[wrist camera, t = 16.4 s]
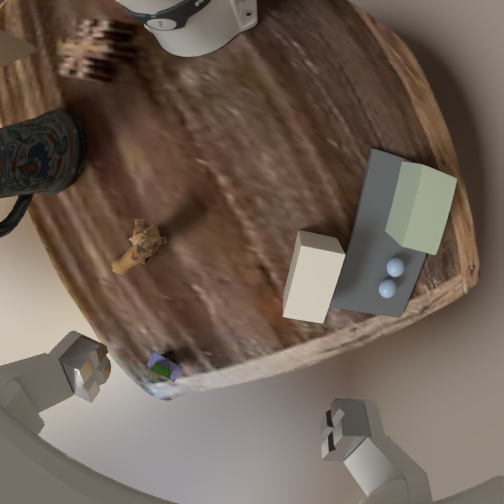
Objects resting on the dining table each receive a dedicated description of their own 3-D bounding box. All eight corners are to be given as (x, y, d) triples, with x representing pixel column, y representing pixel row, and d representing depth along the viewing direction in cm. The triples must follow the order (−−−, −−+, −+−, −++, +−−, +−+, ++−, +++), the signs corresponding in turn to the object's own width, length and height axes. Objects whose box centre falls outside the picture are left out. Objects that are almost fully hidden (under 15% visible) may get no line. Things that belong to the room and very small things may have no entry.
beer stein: (77, 94, 36) (-32, 89, 13) (103, 184, 42) (-12, 225, 19) (30, 137, 40) (-62, 154, 17) (53, 217, 46) (-38, 262, 23)
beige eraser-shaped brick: (298, 229, 41) (301, 245, 34) (336, 237, 41) (345, 254, 34) (283, 293, 45) (282, 316, 39) (318, 299, 45) (322, 323, 38)
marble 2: (385, 255, 40) (394, 257, 37) (400, 258, 40) (409, 260, 37) (381, 273, 40) (390, 277, 37) (396, 276, 40) (405, 279, 37)
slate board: (370, 148, 35) (372, 148, 34) (445, 175, 34) (448, 175, 34) (329, 303, 45) (330, 306, 44) (398, 314, 44) (400, 317, 43)
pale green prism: (401, 161, 34) (423, 164, 28) (433, 173, 34) (457, 178, 27) (384, 230, 38) (401, 246, 32) (416, 239, 38) (435, 255, 31)
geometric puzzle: (157, 340, 50) (139, 374, 46) (188, 357, 50) (170, 391, 46) (158, 344, 56) (142, 374, 52) (185, 359, 56) (169, 389, 52)
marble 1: (380, 274, 40) (386, 285, 38) (395, 276, 41) (401, 287, 38) (373, 289, 42) (379, 300, 39) (388, 291, 42) (394, 302, 39)
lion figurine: (159, 204, 42) (131, 218, 34) (181, 226, 43) (158, 245, 35) (117, 260, 47) (89, 281, 39) (136, 280, 48) (112, 304, 40)
